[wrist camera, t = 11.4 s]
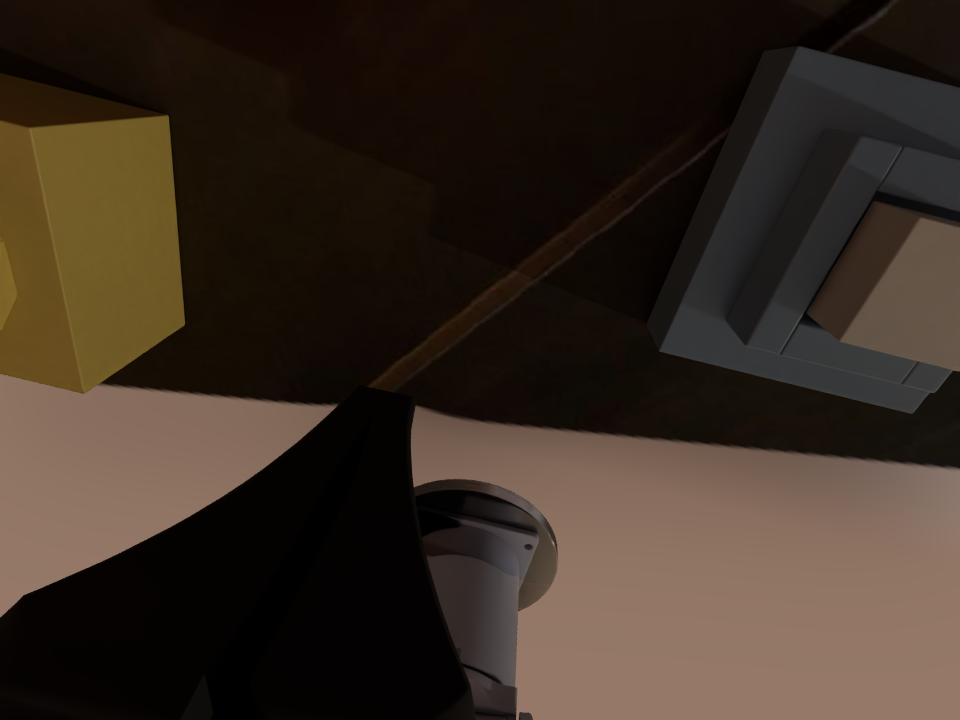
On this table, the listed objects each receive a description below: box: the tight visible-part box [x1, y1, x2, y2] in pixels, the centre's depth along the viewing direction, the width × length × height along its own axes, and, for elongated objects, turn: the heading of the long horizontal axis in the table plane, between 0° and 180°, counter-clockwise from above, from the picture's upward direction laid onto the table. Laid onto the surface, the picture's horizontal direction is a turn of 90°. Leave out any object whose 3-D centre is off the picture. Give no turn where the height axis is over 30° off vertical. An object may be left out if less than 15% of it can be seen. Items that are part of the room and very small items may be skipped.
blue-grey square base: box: [647, 46, 960, 414], centre depth 17 cm, size 10×10×4 cm
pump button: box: [807, 201, 960, 371], centre depth 14 cm, size 4×4×2 cm
